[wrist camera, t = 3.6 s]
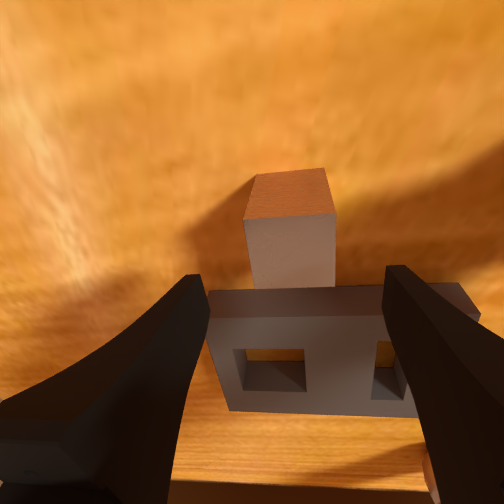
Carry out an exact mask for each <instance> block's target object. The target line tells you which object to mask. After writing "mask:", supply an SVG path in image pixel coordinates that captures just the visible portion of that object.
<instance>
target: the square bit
mask: <svg viewBox="0 0 504 504" xmlns="http://www.w3.org/2000/svg"><path fill="white" fill-rule="evenodd" d="M243 224H244V230H245V236H246V241H247V247H248V253H249V259H250V265H251V270H252V276H253V282H254V288H255V289H275V288H307V287H335V262H336V210H335V206H334V203H333V199H332V195H331V192H330V188H329V184H328V180H327V177H326V173H325V169H324V168H315V169H305V170H295V171H285V172H275V173H264V174H256V178H255V181H254V184H253V188H252V191H251V194H250V198H249V201H248V204H247V207H246V211H245V214H244V217H243Z"/></svg>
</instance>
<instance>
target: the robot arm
mask: <svg viewBox="0 0 504 504" xmlns="http://www.w3.org/2000/svg"><path fill="white" fill-rule="evenodd" d="M381 308H382V312H383V316H384V320H385V324H386V328H387V332H388V334H389V337H390V339H391V342H392V345H393V347H394V350H395V352H396V355H397V357H398V360H399V362H400V365H401V367H402V370H403V372H404V375H405V377H406V380H407V382H408V385H409V388H410V391H411V393H412V396H413V399H414V403H415V406H416V410H417V413H418V417H419V420H420V424H421V427H422V431H423V435H424V438H425V442H426V446H427V450H428V453H429V457H430V461H431V465H432V469H433V473H434V478H435V482H436V486H437V490H438V494H439V498H440V502H441V504H504V339H503V338H501V337H499V336H498V335H496V334H495V333H493V332H491V331H490V330H488V329H487V328H485V327H484V326H482V325H481V324H479V323H478V322H476V321H475V320H473V319H472V318H470V317H469V316H468V315H466V314H465V313H463V312H462V311H461V310H459V309H458V308H456V307H455V306H454V305H452V304H451V303H450V302H449V301H447V300H446V299H445V298H443V297H442V296H441V295H440V294H438V293H437V292H436V291H435V290H433V289H432V288H431V287H430V286H429V285H427V284H426V283H425V282H424V281H423V280H421V279H420V278H419V277H418V276H417V275H416V274H414V273H413V272H412V271H411V270H410V269H409V268H407V267H406V266H405V265H390V266H386V273H385V281H384V289H383V297H382V305H381ZM210 312H211V310H210V307H209V303H208V300H207V296H206V293H205V290H204V286H203V283H202V279H201V276H200V274H191V275H185V276H184V277H183V278H182V279H181V280H180V281H178V282H177V283H176V284H175V285H174V286H173V287H172V288H171V289H170V290H169V291H168V292H167V293H166V294H165V295H164V296H163V297H162V298H161V299H160V300H159V301H158V302H156V303H155V304H154V305H153V306H152V307H151V308H150V309H149V310H148V311H146V312H145V313H144V314H143V315H142V316H141V317H140V318H138V319H137V320H136V321H135V322H134V323H133V324H131V325H130V326H129V327H128V328H126V329H125V330H124V331H123V332H121V333H120V334H119V335H117V336H116V337H115V338H113V339H112V340H110V341H109V342H108V343H106V344H105V345H103V346H102V347H100V348H99V349H97V350H96V351H94V352H92V353H91V354H89V355H88V356H86V357H85V358H83V359H82V360H80V361H78V362H77V363H75V364H73V365H72V366H70V367H68V368H66V369H65V370H63V371H61V372H59V373H57V374H56V375H54V376H52V377H50V378H48V379H46V380H44V381H43V382H41V383H39V384H37V385H34V386H32V387H30V388H28V389H26V390H24V391H22V392H20V393H18V394H16V395H14V396H12V397H10V398H7V399H5V400H3V401H2V402H1V403H0V480H1V481H3V484H2V485H1V487H0V504H167V499H168V492H169V486H170V479H171V473H172V467H173V461H174V456H175V450H176V444H177V439H178V434H179V429H180V424H181V419H182V415H183V410H184V406H185V401H186V397H187V392H188V389H189V385H190V382H191V379H192V376H193V373H194V370H195V367H196V364H197V361H198V358H199V355H200V352H201V349H202V346H203V343H204V340H205V336H206V333H207V328H208V323H209V317H210Z"/></svg>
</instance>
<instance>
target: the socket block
mask: <svg viewBox="0 0 504 504" xmlns="http://www.w3.org/2000/svg"><path fill="white" fill-rule="evenodd" d="M427 285H429V286H430V287H431V288H432V289H433V290H435V291H436V292H437V293H438V294H440V295H441V296H442V297H443V298H445V299H446V300H447V301H449V302H450V303H451V304H452V305H454V306H455V307H456V308H458V309H459V310H461V311H462V312H463V313H465V314H466V315H468V316H469V317H470V318H472V319H473V320H475V321H476V322H478V321H479V318H480V315H481V313H480V312H479V310H478V309H477V307H476V306H475V305H474V303H473V302H472V300H471V299H470V298H469V296H468V295H467V294H466V292H465V291H464V289H463V288H462V287H461V285H460V284H459V283H429V284H427ZM383 289H384V285H369V286H339V287H309V288H279V289H249V290H218V291H209V293H208V296H207V300H208V303H209V307H210V310H211V312H210V317H209V323H208V328H207V333H206V336H205V337H206V340H207V343H208V346H209V350H210V353H211V356H212V359H213V362H214V365H215V368H216V371H217V374H218V377H219V380H220V383H221V387H222V390H223V393H224V396H225V399H226V402H227V405H228V408H229V411H240V412H267V413H293V414H319V415H346V416H372V417H399V418H419V417H418V413H417V410H416V406H415V403H414V399H413V396H412V393H411V391H410V388H409V385H408V382H407V380H406V377H405V375H404V372H403V370H402V367H401V365H400V362H399V360H398V357H397V355H396V354H395V359H394V365H393V368H375V361H376V353H377V345H378V342H391V339H390V337H389V334H388V332H387V328H386V324H385V320H384V316H383V312H382V308H381V305H382V297H383ZM245 349H304V357H305V361H247V357H246V353H245Z"/></svg>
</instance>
